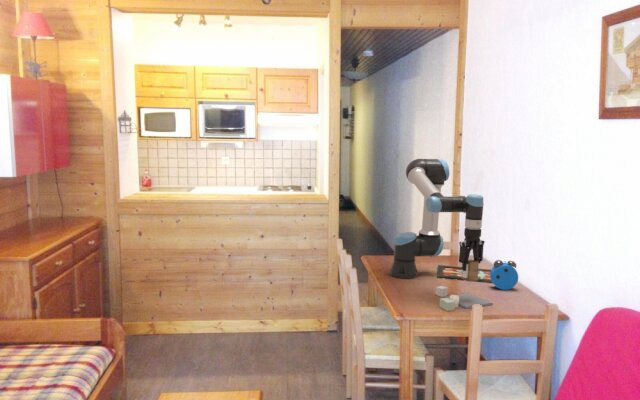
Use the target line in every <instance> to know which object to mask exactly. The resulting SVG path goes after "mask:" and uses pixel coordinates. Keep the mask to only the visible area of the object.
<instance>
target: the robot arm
mask: <svg viewBox="0 0 640 400" xmlns="http://www.w3.org/2000/svg"><path fill="white" fill-rule="evenodd" d="M405 176H406V178H407V180H408V181H409V182H410V183H411V184H413V185H414V186H415V187H416V189H417V190H418V192H420V194H421V195H422V196H423V209H422V210H423V211H422V221H421V222H422V223H421V229H420V230H419V231H418V235H417V233H415V232H407V231H406V232H401V233H398V234H396V236H395V237H394V242H393V243H394V248H393V249H394V250H393V262H392V264H391V267H390V270H389V275H390V276H391V277H393V278H394V277H395V278H399V279H407V280H409V279H416V278H417V277H418V274H419V273H418V269H417V265H416V258H417V257H431V258H432V257H437V256H439V255H441V254H442V251H443V249H444V242H445V241H444V238H443V236H441V233H440V231H439V230H438V227H439V216H440V213H464V214H465V219H464V227H465V228H464V233H463V235H464V239H463V241H459V242H458V243H459V254H458V255H459V257H458V258H459V259H458V263H460V264H461V267H462V270H463V275H462V277H464V278H468V264H467V262H468V260H470V259H469V258H470V256H471V255H470V254H471V251H472V256H473V260H475V261H478V262H479V264H481V263H482V262H483V257H484V245H485V244H486V243H485V240H482V239H481V236H482V226H483V225H482V223H483V212H484V196H483V195H481V194H467V196H465V195H457V196H444V195H443V194H442V192H441V191H442V190H441V189H442V187H443V186H444V185H445V182H446V181H448V180H449V178H450V168H449V165H448V162H447V161H446V160H444V159H439V158H416V159H413V160H411V161H410V162H409V163H408V165H407V166H406V169H405Z"/></svg>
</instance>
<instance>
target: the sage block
mask: <svg viewBox="0 0 640 400" xmlns="http://www.w3.org/2000/svg"><path fill="white" fill-rule="evenodd" d="M438 307H439V308H440V309H443V310H444V311H446V312H450V311H455V309H456V308H455V302H454V301H452V300H450V299H448V298H443V297H442V298H441V297H440V298H439V306H438Z"/></svg>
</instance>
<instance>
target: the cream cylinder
mask: <svg viewBox="0 0 640 400" xmlns="http://www.w3.org/2000/svg"><path fill="white" fill-rule="evenodd" d="M458 295H459V294H450V295H449V296H450V300H452V301H454V302H455V309H458V308H459V307H460V306H459V296H458Z"/></svg>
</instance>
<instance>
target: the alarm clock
mask: <svg viewBox="0 0 640 400" xmlns="http://www.w3.org/2000/svg"><path fill="white" fill-rule="evenodd" d="M515 268H517V263H516V262H515V261H514V260H508V261H502V260H501V259H497V260H494V262H493V267H492V268H491V269H490V270H491V271H490V279H491V281H492V282H493V283H492V284H493V285H494V288H497V289H500V290H503V291H508V290H511V289H513V288H514V287H515V286H516V285H517V284H518V281H519V273H518V271H517V269H515Z"/></svg>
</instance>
